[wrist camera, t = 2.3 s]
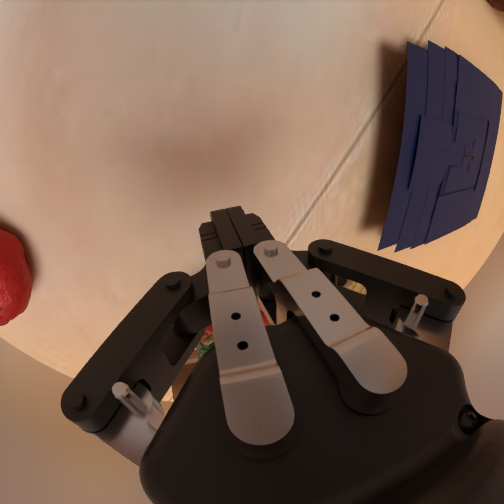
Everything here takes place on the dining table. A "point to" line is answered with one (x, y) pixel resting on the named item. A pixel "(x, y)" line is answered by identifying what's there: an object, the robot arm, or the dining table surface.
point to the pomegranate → (13, 278)
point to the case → (497, 4)
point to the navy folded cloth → (441, 147)
